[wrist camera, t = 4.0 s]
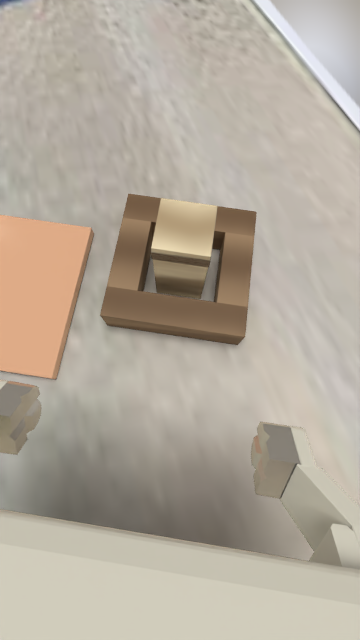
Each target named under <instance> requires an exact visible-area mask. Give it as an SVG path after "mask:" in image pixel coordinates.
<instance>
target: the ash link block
mask: <svg viewBox="0 0 360 640" xmlns="http://www.w3.org/2000/svg"><path fill="white" fill-rule="evenodd" d="M216 216H217V206H214V205H206V204H199V203H192V202H185V201H178V200H171V199H164V198H161V201H160V206H159V211H158V216H157V221H156V227H155V232H154V237H153V242H152V247H151V257H152V259H153V266H154V273H155V281H156V289H157V293H164V294H171V295H178V296H184V297H191V298H198V299H200V298H201V294H202V290H203V286H204V282H205V278H206V274H207V270H208V268H209V265H210V260H211V253H212V245H213V238H214V230H215V223H216Z"/></svg>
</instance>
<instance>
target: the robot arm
mask: <svg viewBox="0 0 360 640" xmlns="http://www.w3.org/2000/svg"><path fill="white" fill-rule="evenodd" d="M39 395H40V392H39V387H37V386H34V385H29V384H23V383H18V382H13V381H6V380H0V453H8V454H15V455H17V454H18V453H19V451H20V450H21V448H22V447H23V445H24V444H25V442H26V441H27V433H28V432H30V431H32V430H33V429H34V428H35V427H36V425H37V424H38V421H39V419H40V416H41V409H42V408H41V403H40V402H39V401H38V399H37V398H38V396H39ZM257 433H258V435H257V436H256V437H254V439H253V443H252V448H251V462H252V465H253V467H254V468H255V469H256V470H255V473H254V476H253V478H254V485H255V493H256V494H258V495H263V496H268V497H273V498H278V499H280V501H281V502H282V504H283V505H284V507H285V508H286V510H287V511H288V513H289V514H290V516H291V517H292V519H293V520H294V522H295V523H296V525H297V526H298V528H299V529H300V531H301V532H302V534H303V535H304V537H305V538H306V540H307V542H308V543H309V545H310V546H311V548H312V549H313V551H314V554H313V555H312V557H311V558H310V560H309V561H305V560H299V559H293V558H288V557H282V556H276V555H270V554H264V553H258V552H252V551H246V550H240V549H234V548H228V547H222V546H217V545H211V544H205V543H199V542H193V541H187V540H181V539H175V538H169V537H163V536H157V535H151V534H145V533H139V532H133V531H127V530H121V529H115V528H110V527H104V526H98V525H92V524H86V523H80V522H74V521H68V520H62V519H56V518H50V517H45V516H39V515H33V514H27V513H21V512H15V511H9V510H3V509H0V640H360V506H359V505H358V504H357V503H356V502H355V501H354V500H353V499H352V498H351V497H350V496H349V495H348V494H347V493H346V492H345V491H344V490H343V489H342V488H341V487H340V486H339V485H338V484H337V483H336V482H335V481H334V480H333V479H332V478H331V477H330V476H329V475H328V474H327V473H326V472H325V471H324V470H323V469H322V468H318V467H317V464H316V462H315V459H314V456H313V453H312V450H311V447H310V444H309V441H308V438H307V435H306V432H305V430H304V429H303V428H301V427H294V426H287V425H280V424H274V423H267V422H260V423H259V425H258V427H257Z"/></svg>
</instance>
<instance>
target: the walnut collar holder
mask: <svg viewBox="0 0 360 640" xmlns="http://www.w3.org/2000/svg"><path fill="white" fill-rule="evenodd" d="M160 201H161V198H155V197H148V196H141V195H134V194H128V198H127V202H126V207H125V211H124V215H123V219H122V224H121V228H120V232H119V237H118V241H117V245H116V249H115V254H114V258H113V262H112V267H111V271H110V275H109V279H108V284H107V288H106V292H105V297H104V301H103V305H102V309H101V314H100V316H101V317H102V318H103V320H104V321H105V322H106V324H107V325H109V326H115V327H122V328H129V329H135V330H142V331H149V332H155V333H162V334H169V335H175V336H182V337H188V338H195V339H202V340H208V341H215V342H222V343H228V344H235V345H238V344H239V343H240V342H241V341H242V340H243V338H244V337H245V331H246V321H247V310H248V299H249V288H250V277H251V266H252V255H253V244H254V233H255V223H256V212H254V211H247V210H240V209H233V208H226V207H219V206H217V216H216V223H215V230H214V238H213V245H212V249H219V250H220V257H219V265H218V273H217V281H216V289H215V297H214V302H211V301H204V300H197V299H191V298H184V297H177V296H170V295H163V294H157V293H150V292H143V290H144V285H145V280H146V275H147V270H148V265H149V260H150V255H151V247H152V242H153V237H154V232H155V227H156V221H157V216H158V211H159V206H160Z"/></svg>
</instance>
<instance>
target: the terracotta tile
mask: <svg viewBox="0 0 360 640" xmlns="http://www.w3.org/2000/svg"><path fill="white" fill-rule="evenodd" d="M93 236H94V233H93V231H92V228H88V227H81V226H74V225H67V224H60V223H53V222H47V221H40V220H33V219H26V218H19V217H12V216H5V215H0V371H5V372H11V373H17V374H24V375H30V376H37V377H43V378H50V379H56V378H57V374H58V370H59V367H60V363H61V359H62V355H63V351H64V347H65V343H66V340H67V336H68V332H69V328H70V324H71V320H72V316H73V313H74V309H75V305H76V301H77V297H78V293H79V290H80V286H81V282H82V278H83V274H84V270H85V266H86V263H87V259H88V255H89V251H90V247H91V243H92V239H93Z"/></svg>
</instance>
